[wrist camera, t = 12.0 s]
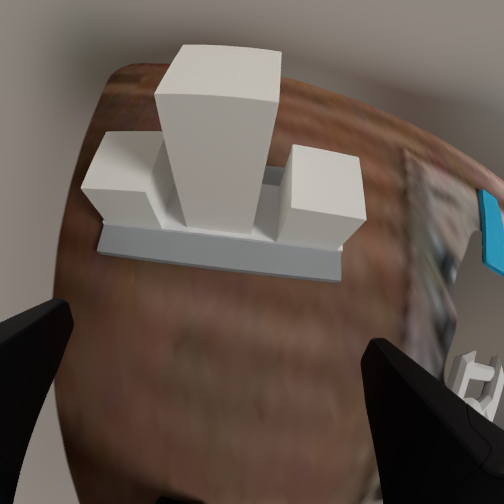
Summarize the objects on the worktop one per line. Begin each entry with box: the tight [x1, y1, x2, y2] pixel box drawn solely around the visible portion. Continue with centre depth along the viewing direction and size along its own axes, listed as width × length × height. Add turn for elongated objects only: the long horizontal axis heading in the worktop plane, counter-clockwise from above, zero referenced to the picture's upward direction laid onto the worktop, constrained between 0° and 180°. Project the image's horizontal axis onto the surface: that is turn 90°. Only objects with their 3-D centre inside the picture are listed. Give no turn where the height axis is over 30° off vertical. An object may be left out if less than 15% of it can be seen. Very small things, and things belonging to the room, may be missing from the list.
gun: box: [446, 351, 504, 422], centre depth 17 cm, size 18×3×10 cm
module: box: [154, 45, 282, 235], centre depth 17 cm, size 5×5×13 cm
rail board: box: [81, 131, 366, 283], centre depth 21 cm, size 10×20×7 cm, turn 85°
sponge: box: [478, 189, 504, 277], centre depth 27 cm, size 2×12×6 cm
